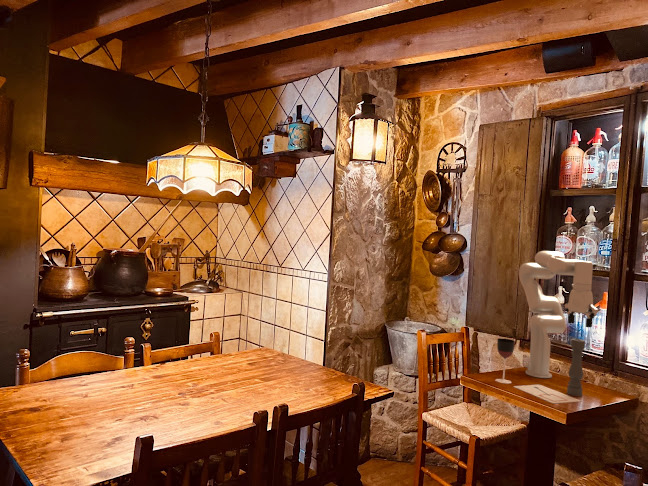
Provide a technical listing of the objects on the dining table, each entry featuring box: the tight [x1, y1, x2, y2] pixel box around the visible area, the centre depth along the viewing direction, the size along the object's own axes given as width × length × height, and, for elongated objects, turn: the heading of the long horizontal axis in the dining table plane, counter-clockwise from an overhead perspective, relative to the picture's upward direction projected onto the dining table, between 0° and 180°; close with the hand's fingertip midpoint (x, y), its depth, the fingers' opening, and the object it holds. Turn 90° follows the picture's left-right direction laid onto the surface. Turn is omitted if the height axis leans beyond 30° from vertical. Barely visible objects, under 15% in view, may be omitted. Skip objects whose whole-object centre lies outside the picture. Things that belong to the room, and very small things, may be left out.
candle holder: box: [566, 338, 586, 397], centre depth 234 cm, size 6×6×25 cm
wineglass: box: [495, 338, 516, 384], centre depth 249 cm, size 8×9×20 cm
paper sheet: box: [513, 384, 582, 404], centre depth 232 cm, size 24×16×1 cm, turn 22°
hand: (579, 325), depth 233 cm, fingers open, 9 cm apart
